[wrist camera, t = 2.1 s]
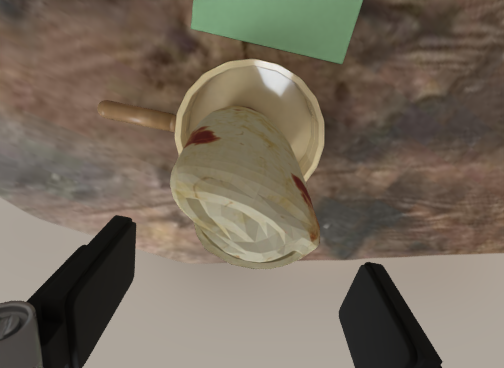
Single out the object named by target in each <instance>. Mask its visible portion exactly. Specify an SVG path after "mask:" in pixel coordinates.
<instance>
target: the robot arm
mask: <svg viewBox="0 0 504 368" xmlns="http://www.w3.org/2000/svg"><path fill="white" fill-rule="evenodd" d="M135 243H136V223H135V222H132V219H131V218H129V217H123V216H118V215H116V216H114V217H113V218H112V219H111V220H110V221H109V222H108V223H107V225H106V226H105V227H104V228H103V229H102V230H101V231H100V232H99V233H98V234H97V235H96V236H95V237H94V238H93V239H92V241H91V242H90V243H89V244H88V245H82V246H81V247H79V248H78V249H77V250H76V251H75V252H74V253H73V254H72V255H71V256H70V257H69V258H68V259H67V260H66V262H65V263H64V264H63V265H62V266H61V267H60V268H59V269H58V270H57V271H56V272H55V273H54V274H53V275H52V276H51V277H50V278H49V279H48V280H47V281H46V282H45V283H44V284H43V285H42V286H41V287H40V288H39V289H38V290H37V291H36V293H34V294H33V295H32V296H31V298H29V299H28V301H27V302H24V301H9V302H4V303H0V368H82V367H83V366H84V364H85V363H86V361H87V359H88V357H89V356H90V354H91V352H92V351H93V349H94V347H95V345H96V344H97V342H98V340H99V338H100V337H101V335H102V333H103V331H104V330H105V328H106V326H107V324H108V323H109V321H110V320H111V318H112V316H113V314H114V313H115V311H116V309H117V307H118V306H119V304H120V302H121V300H122V298H123V297H124V295H125V293H126V291H127V290H128V288H129V287H130V285H131V283H132V281H133V278H134V269H135ZM339 319H340V322H341V325H342V328H343V331H344V334H345V338H346V341H347V344H348V347H349V350H350V353H351V357H352V359H353V363H354V366H355V368H442V367H441V363H442V360H441V359H440V357H439V355H438V354H437V352H436V351H435V349H434V347H433V346H432V344H431V342H430V341H429V339H428V338H427V336H426V334H425V333H424V331H423V330H422V328H421V326H420V325H419V323H418V322H417V320H416V319H415V317H414V315H413V313H412V312H411V310H410V309H409V307H408V305H407V304H406V302H405V301H404V299H403V297H402V296H401V294H400V292H399V291H398V289H397V288H396V286H395V284H394V283H393V282H392V280H391V278H390V276H389V275H388V273H387V271H386V270H385V268H384V267H383V266H382V265H381V264H376V263H371V262H366V263H365V264H364V265H361V267H360V268H359V270H358V273H357V274H356V276H355V278H354V280H353V283H352V285H351V287H350V289H349V291H348V293H347V295H346V297H345V299H344V301H343V303H342V305H341V307H340V310H339Z"/></svg>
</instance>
